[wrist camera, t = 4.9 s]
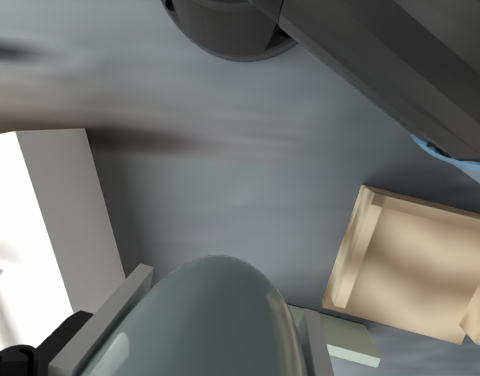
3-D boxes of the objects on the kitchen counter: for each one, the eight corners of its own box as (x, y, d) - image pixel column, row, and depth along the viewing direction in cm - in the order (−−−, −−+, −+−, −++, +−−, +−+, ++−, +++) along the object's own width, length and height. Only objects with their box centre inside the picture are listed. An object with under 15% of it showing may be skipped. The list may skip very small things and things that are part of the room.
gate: (254, 293, 31) (250, 330, 26) (365, 323, 31) (386, 367, 25) (250, 304, 32) (247, 343, 26) (361, 334, 31) (380, 380, 26)
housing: (361, 184, 28) (374, 193, 25) (510, 221, 27) (544, 235, 24) (321, 301, 31) (327, 323, 28) (454, 337, 31) (477, 364, 27)
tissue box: (86, 128, 30) (-15, 132, 19) (144, 342, 35) (89, 439, 24) (-37, 151, 32) (-191, 166, 21) (35, 351, 37) (-61, 444, 26)
